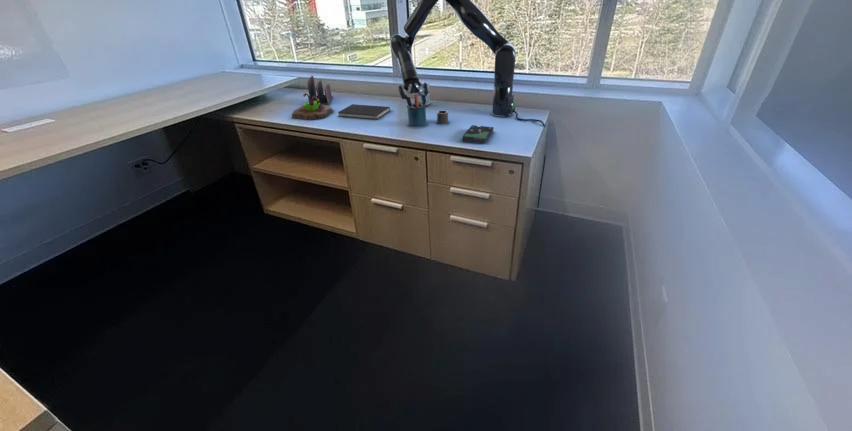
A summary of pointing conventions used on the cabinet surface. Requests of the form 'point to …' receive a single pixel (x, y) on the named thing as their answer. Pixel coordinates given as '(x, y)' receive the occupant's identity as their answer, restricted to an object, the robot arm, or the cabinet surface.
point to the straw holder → (442, 117)
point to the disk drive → (477, 134)
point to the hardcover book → (364, 111)
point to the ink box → (425, 96)
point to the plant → (311, 110)
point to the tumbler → (417, 117)
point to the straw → (416, 100)
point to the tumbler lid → (417, 107)
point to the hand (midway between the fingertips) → (417, 104)
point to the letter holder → (319, 92)
